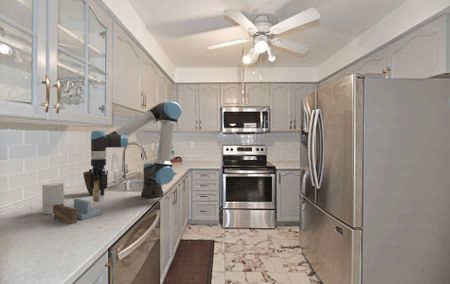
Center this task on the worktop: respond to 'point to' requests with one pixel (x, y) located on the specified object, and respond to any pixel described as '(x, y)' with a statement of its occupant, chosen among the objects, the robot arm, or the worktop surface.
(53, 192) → the skincare box
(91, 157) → the robot arm
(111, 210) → the worktop surface
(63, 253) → the worktop surface
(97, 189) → the dowel
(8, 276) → the worktop surface
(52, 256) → the worktop surface
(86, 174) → the plant pot
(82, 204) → the fork block
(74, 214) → the board
